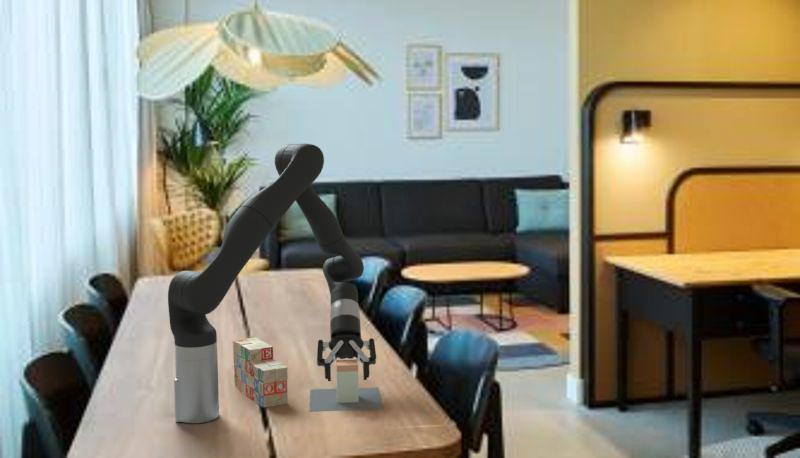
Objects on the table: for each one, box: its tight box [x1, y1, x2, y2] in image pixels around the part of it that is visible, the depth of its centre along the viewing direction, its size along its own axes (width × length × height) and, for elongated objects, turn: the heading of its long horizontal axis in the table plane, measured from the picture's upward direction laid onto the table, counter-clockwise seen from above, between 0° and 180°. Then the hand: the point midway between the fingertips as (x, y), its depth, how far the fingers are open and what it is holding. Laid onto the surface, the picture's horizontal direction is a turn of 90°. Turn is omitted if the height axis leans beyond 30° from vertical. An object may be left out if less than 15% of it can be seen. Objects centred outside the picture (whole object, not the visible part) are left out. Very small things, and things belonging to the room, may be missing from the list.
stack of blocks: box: [232, 337, 289, 408], centre depth 207 cm, size 21×6×12 cm, turn 29°
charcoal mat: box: [309, 386, 384, 413], centre depth 203 cm, size 17×17×1 cm
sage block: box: [335, 359, 359, 403], centre depth 202 cm, size 5×5×9 cm
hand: (347, 379), depth 201 cm, fingers open, 8 cm apart
